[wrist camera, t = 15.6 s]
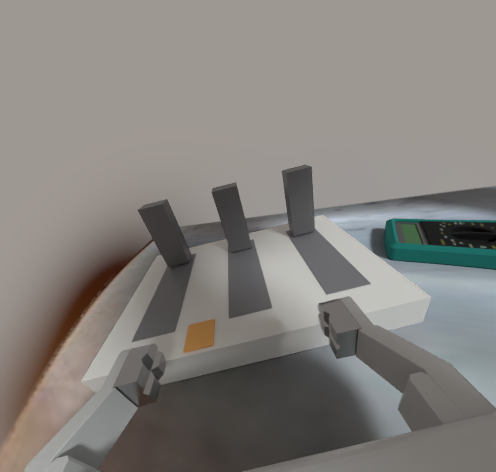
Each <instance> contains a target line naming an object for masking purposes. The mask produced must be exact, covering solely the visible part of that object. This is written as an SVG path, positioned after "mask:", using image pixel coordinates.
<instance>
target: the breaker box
mask: <svg viewBox="0 0 496 472" xmlns="http://www.w3.org/2000/svg"><path fill="white" fill-rule="evenodd" d="M314 221H315V231H313V232H309V233H305V234H301V235H297V236H293V234H292V233H291V231H290V230H289V223H288V224H284V225H280V226H276V227H272V228H268V229H264V230H260V231H256V232H252V233H249V237H250V241H251V245H252V247H251V248H247V249H243V250H239V251H235V252H231V251H230V248H229V245H228V242H227V239H223V240H219V241H215V242H211V243H207V244H203V245H199V246H195V247H191V248H189V250H190V252H191V257H190V261H189V262H187V263H183V264H179V265H175V266H171V267H168V266H167V264H166V262H165V260H164V258H163V257H162V255H159V256H157V257H156V258H155V260H154V262H153V263H152V265H151V267H150V268H149V270H148V272H147V273H146V275H145V277H144V278H143V280H142V282H141V283H140V285H139V287H138V288H137V290H136V291H135V293H134V295H133V296H132V298H131V300H130V301H129V303H128V305H127V306H126V308H125V310H124V311H123V313H122V315H121V316H120V318H119V320H118V321H117V323H116V324H115V326H114V328H113V329H112V331H111V333H110V334H109V336H108V338H107V339H106V341H105V343H104V344H103V346H102V348H101V349H100V351H99V353H98V354H97V356H96V357H95V359H94V361H93V362H92V364H91V366H90V367H89V369H88V371H87V372H86V374H85V376H84V377H83V379H82V381H81V382H82V383H83V384H84V385H86V386H87V387H88V388H89V389H91V390H92V391H93V392H95V393H96V392H99V391H100V390H101V388H102V386H103V384H104V382H105V380H106V378H107V376H108V374H109V372H110V371H111V369H112V367H113V365H114V363H115V361H116V359H117V357H118V355H119V354H120V353H121V352H122V351H123V350H127V349H131V348H136V347H140V346H145V345H150V344H154V343H155V344H156V345H157V346H158V350H157V351H160V352H162V353H163V354H164V356H165V359H166V367H165V371H164V374H163V375H162V377H161V378H160V379H159V381H160V383H161V385H164V384H168V383H172V382H176V381H180V380H184V379H189V378H193V377H197V376H201V375H205V374H209V373H214V372H218V371H222V370H226V369H230V368H234V367H239V366H243V365H247V364H251V363H255V362H259V361H263V360H268V359H272V358H276V357H280V356H284V355H288V354H293V353H297V352H301V351H305V350H309V349H313V348H318V347H322V346H326V345H329V338H328V337H327V336H325V335H324V333H323V331H322V329H321V326H320V323H319V318H318V315H319V313H320V312H319V310H318V303H322V302H326V301H330V300H334V299H339V298H343V297H347V296H350V297H351V298H352V299H353V300H354V301H355V303H356V304H357V305H358V306H359V308H360V309H361V310H362V311H363V312H364V314H365V315H366V316H367V317H368V319H369V320H370V321H371V322H372V324H373V325H374V326H375V325H379V326H381V327H382V328H384V329H386V330H392V329H397V328H401V327H405V326H409V325H413V324H417V323H422V322H423V320H424V317H425V314H426V311H427V308H428V305H429V303H430V300H431V296H429V295H428V294H427V293H425V292H424V291H423V290H421V289H420V288H419V287H417V286H416V285H415V284H413V283H412V282H411V281H409V280H408V279H407V278H406V277H404V276H403V275H402V274H400V273H399V272H398V271H396V270H395V269H394V268H392V267H391V266H390V265H388V264H387V263H386V262H384V261H383V260H382V259H381V258H379V257H378V256H377V255H375V254H374V253H373V252H371V251H370V250H369V249H367V248H366V247H365V246H363V245H362V244H361V243H359V242H358V241H357V240H355V239H354V238H353V237H352V236H350V235H349V234H348V233H346V232H345V231H344V230H342V229H341V228H340V227H338V226H337V225H336V224H334V223H333V222H332V221H330V220H329V219H328V218H327V217H325V216H324V215H321V216H316V217H314Z"/></svg>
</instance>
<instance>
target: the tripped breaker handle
mask: <svg viewBox="0 0 496 472" xmlns="http://www.w3.org/2000/svg"><path fill="white" fill-rule="evenodd" d="M212 195H213V198H214V201H215V204H216V207H217V210H218V213H219V216H220V220H221V223H222V226H223V229H224V232H225V236H226V239H227V242H228V245H229V248H230V251H231V252H235V251H239V250H243V249H247V248H251V247H252V245H251V241H250V237H249V233H248V229H247V225H246V221H245V217H244V213H243V209H242V205H241V201H240V197H239V193H238V189H237V185H236V183H232V184H228V185H224V186H220V187H216V188H213V189H212Z"/></svg>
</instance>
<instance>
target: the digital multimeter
mask: <svg viewBox="0 0 496 472" xmlns="http://www.w3.org/2000/svg"><path fill="white" fill-rule="evenodd" d="M384 243H385V249H386V253H387V256H388V258H389V259H391V260H398V261H408V262H421V263H434V264H444V265H454V266H465V267H475V268H485V269H494V270H496V221H491V220H425V219H391V220H387V221H386V227H385V234H384Z"/></svg>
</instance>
